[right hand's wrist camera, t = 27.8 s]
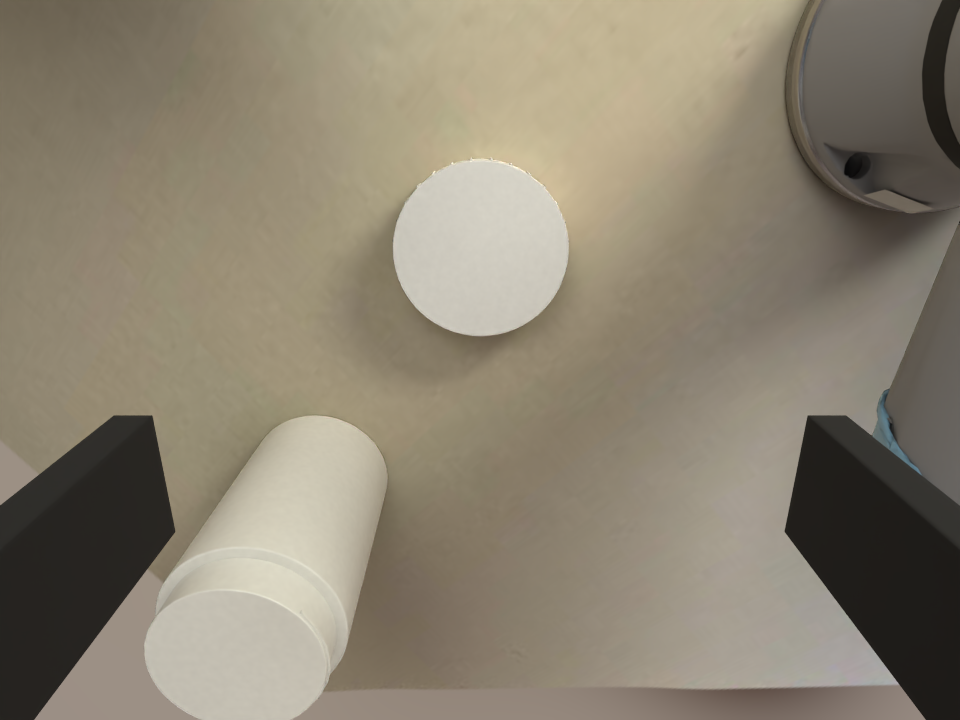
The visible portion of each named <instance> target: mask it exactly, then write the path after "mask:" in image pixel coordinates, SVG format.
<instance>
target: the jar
mask: <svg viewBox="0 0 960 720" xmlns="http://www.w3.org/2000/svg"><path fill="white" fill-rule="evenodd" d="M387 484H388V473H387V468H386V464H385V461H384V458H383V456H382V454H381V452H380V450H379V449H378V448H377V446H376V445H375V443H374V442H373V441H372V440H371V439H370V438H369V437H368V436H367V435H366V434H365V433H364V432H362V431H361V430H360V429H358V428H357V427H355V426H353V425H351V424H349V423H347V422H345V421H342V420H340V419H336V418H332V417H327V416H314V415H311V416H302V417H298V418H294V419H291V420H288V421H286V422H284V423H282V424H280V425H278V426H277V427H275V428H274V429H273V430H271V431H270V432H269V433H268V434H267V435H266V436H265V438H264V439H263V440H262V442H261V443H260V444H259V446H258V447H257V449H256V450H255V452H254V453H253V454H252V456H251V457H250V459H249V460H248V462H247V463H246V465H245V466H244V467H243V469H242V470H241V472H240V473H239V475H238V476H237V478H236V479H235V480H234V482H233V483H232V485H231V486H230V488H229V489H228V490H227V492H226V493H225V495H224V496H223V498H222V499H221V501H220V502H219V503H218V505H217V506H216V508H215V509H214V511H213V512H212V514H211V515H210V516H209V518H208V519H207V521H206V522H205V524H204V525H203V527H202V528H201V529H200V531H199V532H198V534H197V535H196V537H195V538H194V540H193V541H192V542H191V544H190V545H189V547H188V548H187V550H186V551H185V553H184V554H183V555H182V557H181V558H180V560H179V561H178V563H177V564H176V565H175V567H174V568H173V570H172V571H171V573H170V574H169V576H168V577H167V578H166V580H165V581H164V583H163V585H162V587H161V589H160V591H159V594H158V597H157V601H156V608H155V618H154V620H153V621H152V623H151V625H150V627H149V629H148V631H147V634H146V637H145V644H144V658H145V662H146V667H147V669H148V672H149V674H150V677H151V678H152V680H153V682H154V684H155V685H156V686H157V688H158V689H159V690H160V692H161V693H162V694H163V695H164V696H165V697H166V698H167V699H168V700H169V701H170V702H172V703H173V704H174V705H175V706H176V707H178V708H179V709H181V710H182V711H184V712H185V713H187V714H189V715H191V716H193V717H195V718H197V719H200V720H292V719H294V718H295V717H297V716H299V715H300V714H302V713H303V712H304V711H306V710H307V709H308V708H309V707H310V706H311V705H312V704H313V703H314V702H315V701H316V700H317V699H319V697H320V696H321V694H322V692H323V690H324V688H325V686H326V685H327V684H328V681H329V675H330V674H331V672H332V671H333V670H334V669H335V668H336V667H337V665H338V664H339V662H340V661H341V659H342V657H343V655H344V652H345V650H346V646H347V642H348V639H349V635H350V631H351V627H352V623H353V619H354V615H355V611H356V607H357V603H358V600H359V596H360V592H361V588H362V584H363V580H364V576H365V572H366V568H367V564H368V561H369V557H370V553H371V549H372V545H373V541H374V537H375V533H376V529H377V526H378V522H379V518H380V514H381V510H382V506H383V502H384V498H385V494H386V490H387Z"/></svg>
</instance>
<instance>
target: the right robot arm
mask: <svg viewBox="0 0 960 720" xmlns="http://www.w3.org/2000/svg"><path fill="white" fill-rule="evenodd" d="M786 103H787V112H788V118H789V123H790V126H791V130H792V134H793V137H794V139H795V141H796V144H797V146H798V149H799V150H800V152H801V154H802V156H803V158H804V160H805V161H806V162H807V164H808V165H809V167H810V168H811V169H812V171H813V172H814V173H815V174H816V175H817V176H818V177H819V178H820V179H821V180H822V181H823V182H824V183H825V184H826V185H827V186H829V187H830V188H831V189H833V190H834V191H836V192H837V193H839V194H841V195H842V196H844V197H846V198H848V199H850V200H853V201H855V202H858V203H861V204H864V205H868V206H872V207H876V208H881V209H886V210H892V211H898V212H907V213H909V214H912V213H926V212H935V211H942V210H947V209H951V208H955V207H959V206H960V0H810V1H809V3H808V5H807V7H806V9H805V11H804V13H803V15H802V17H801V20H800V23H799V25H798V28H797V30H796V33H795V36H794V40H793V43H792V47H791V51H790V56H789V61H788V67H787V76H786ZM959 223H960V222H959ZM877 415H878V421H877V424H876V427H875V430H874V433H873V436H871V435H870V434H869V433H867V432H866V431H865V430H864V429H862V428H861V427H860V426H859V425H857V424H856V423H855V422H853V421H852V420H851V419H850V418H848V417H847V416H808V417H807V422H806V427H805V432H804V437H803V442H802V447H801V452H800V457H799V462H798V467H797V472H796V477H795V482H794V487H793V492H792V497H791V502H790V507H789V512H788V517H787V522H786V528H785V533H786V534H787V535H788V537H789V538H790V539H791V541H792V542H793V543H794V545H795V546H796V547H797V549H798V550H799V551H800V553H801V554H802V555H803V557H804V558H805V559H806V561H807V562H808V563H809V565H810V566H811V567H812V569H813V570H814V571H815V573H816V574H817V575H818V577H819V578H820V579H821V581H822V582H823V583H824V585H825V586H826V587H827V589H828V590H829V591H830V593H831V594H832V595H833V597H834V598H835V599H836V601H837V602H838V603H839V605H840V606H841V607H842V609H843V610H844V611H845V613H846V614H847V615H848V617H849V618H850V619H851V621H852V622H853V623H854V625H855V626H856V627H857V629H858V630H859V631H860V633H861V634H862V635H863V637H864V638H865V639H866V641H867V642H868V643H869V645H870V646H871V647H872V649H873V650H874V651H875V653H876V654H877V655H878V657H879V658H880V659H881V661H882V662H883V663H884V665H885V666H886V667H887V669H888V670H889V671H890V673H891V674H892V675H893V677H894V678H895V679H896V681H897V682H898V683H899V685H900V686H901V687H902V689H903V690H904V691H905V692H906V694H907V695H908V696H909V698H910V699H911V700H912V702H913V703H914V704H915V706H916V707H917V708H918V710H919V711H920V712H921V714H922V715H923V716H924V718H925V719H926V720H960V224H958V226H957V229H956V231H955V233H954V236H953V238H952V241H951V243H950V245H949V248H948V250H947V253H946V255H945V258H944V260H943V262H942V265H941V267H940V270H939V272H938V274H937V277H936V279H935V282H934V284H933V286H932V289H931V291H930V294H929V296H928V298H927V301H926V303H925V306H924V308H923V311H922V313H921V315H920V318H919V320H918V323H917V325H916V327H915V330H914V332H913V335H912V337H911V339H910V342H909V344H908V347H907V349H906V351H905V354H904V356H903V359H902V361H901V364H900V366H899V368H898V371H897V373H896V376H895V378H894V380H893V383H892V385H891V388H890V389H888V390H885V391H884V392H883V394H882V396H881V398H880V399H879V402H878V407H877ZM174 533H175V528H174V523H173V517H172V512H171V507H170V502H169V497H168V492H167V487H166V482H165V477H164V472H163V467H162V462H161V457H160V452H159V447H158V442H157V437H156V432H155V427H154V422H153V417H152V416H113V417H112V418H110V419H109V420H108V421H107V422H105V423H104V424H103V425H101V426H100V427H99V428H98V429H96V430H95V431H94V432H93V433H91V434H90V435H89V436H88V437H86V438H85V439H84V440H82V441H81V442H80V443H79V444H77V445H76V446H75V447H74V448H72V449H71V450H70V451H69V452H67V453H66V454H65V455H64V456H62V457H61V458H60V459H58V460H57V461H56V462H55V463H53V464H52V465H51V466H50V467H48V468H47V469H46V470H45V471H43V472H42V473H41V474H39V475H38V476H37V477H36V478H34V479H33V480H32V481H31V482H29V483H28V484H27V485H26V486H24V487H23V488H22V489H20V490H19V491H18V492H17V493H16V494H14V495H13V496H12V497H10V498H9V499H8V500H7V501H5V502H4V503H3V504H2V505H0V720H34V719H35V718H36V716H37V715H38V714H39V712H40V711H41V710H42V708H43V707H44V706H45V704H46V703H47V702H48V700H49V699H50V698H51V696H52V695H53V694H54V692H55V691H56V690H57V689H58V687H59V686H60V685H61V683H62V682H63V681H64V679H65V678H66V677H67V675H68V674H69V673H70V671H71V670H72V669H73V667H74V666H75V664H76V663H77V662H78V661H79V659H80V658H81V657H82V655H83V654H84V652H85V651H86V650H87V649H88V647H89V646H90V645H91V643H92V642H93V641H94V639H95V638H96V637H97V635H98V634H99V633H100V631H101V630H102V629H103V627H104V626H105V625H106V623H107V622H108V621H109V619H110V618H111V617H112V615H113V614H114V613H115V611H116V610H117V609H118V607H119V606H120V605H121V603H122V602H123V601H124V599H125V598H126V597H127V595H128V594H129V593H130V591H131V590H132V589H133V587H134V586H135V585H136V583H137V582H138V581H139V579H140V578H141V577H142V575H143V574H144V573H145V571H146V570H147V569H148V567H149V566H150V565H151V563H152V562H153V561H154V559H155V558H156V557H157V555H158V554H159V553H160V551H161V550H162V549H163V547H164V546H165V545H166V543H167V542H168V541H169V539H170V538H171V537H172V535H173V534H174Z"/></svg>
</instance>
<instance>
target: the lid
mask: <svg viewBox="0 0 960 720" xmlns="http://www.w3.org/2000/svg"><path fill="white" fill-rule="evenodd" d="M416 188H417V189H416V190H415V191H414V192H413V193H412V194H411V196H410V197H409V199H407V200H406V201H405V202H404V204H405V205H404V207H403V209H402V211H401V212H400V215H399V218H398V219H397V220H396V222H397V223H396V227H395V232H394V238H393V261H394V265H395V270H396V273H397V276H398V280H399V282H400V284H401V286H402V288H403V291H404V292H405V294H406V295H407V297H408V298H409V300H410V301H411V302H412V304H413V305H414V306H415V307H416V308H417V309H418V310H419V311H420V312H421V313H422V314H423V315H424V316H425V317H426V318H428V319H429V320H431V321H432V322H433V323H435V324H437V325H439V326H441V327H443V328H445V329H447V330H450V331H452V332H455V333H459V334H463V335H470V336H491V335H498V334H502V333H506V332H509V331H512V330H514V329H517V328H519V327H521V326H523V325H524V324H526V323H528V322H529V321H531V320H532V319H534V318H535V317H536V316H538V315H539V314H540V313H541V312H542V311H543V310H544V309H545V308H546V307H547V305H548V304H549V303H550V302H551V301H552V299H553V298H554V296H555V295H556V293H557V291H558V290H559V287H560V285H561V283H562V281H563V278H564V275H565V272H566V268H567V263H568V253H569V240H568V234H567V229H566V225H565V223H566V222H565V220H564V219H563V216H562V213H561V211H560V209H559V208H558V206H557V205H558V203H557V202H556V201H555V200H554V199H553V198H552V196H551V195H550V194H549V192H548V191H547V190H546V187H545V186H544V185H543V184H540V183H539V182H538V181H537V180H536V179H535V178H533V177H532V176H531V174H530V173H529V172H528V171H527V172H525V171H523V170H522V169H520V168H518V167H516V166H514V165H513V164H512V163H510V162H509V163H506V162H502V161H499V160H493V159H492V158H490V159H472V158H470V159H469V160H463V161H459V162H456V163H453V162H451V163H450V165H448V166H446V167H443V168H441V169H440V170H438V171H437V172H436V171H434V172H433V173H432V175H431V176H429V177H428V178H427V179H426V180H425V181H423V182H422V183H419V184H418V185H417V186H416Z"/></svg>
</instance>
